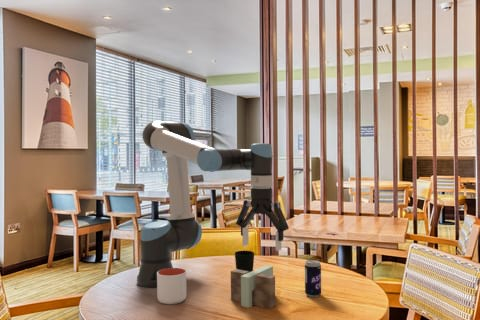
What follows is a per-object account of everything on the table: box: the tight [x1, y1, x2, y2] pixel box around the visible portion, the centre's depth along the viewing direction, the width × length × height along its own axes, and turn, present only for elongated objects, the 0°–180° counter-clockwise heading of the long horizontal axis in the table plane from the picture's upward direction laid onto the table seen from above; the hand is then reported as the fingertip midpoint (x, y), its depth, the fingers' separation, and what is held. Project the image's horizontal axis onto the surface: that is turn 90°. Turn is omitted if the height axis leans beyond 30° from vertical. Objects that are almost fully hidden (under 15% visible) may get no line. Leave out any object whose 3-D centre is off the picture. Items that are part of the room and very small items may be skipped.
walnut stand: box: [230, 268, 276, 310], centre depth 142 cm, size 16×3×10 cm, turn 55°
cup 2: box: [234, 250, 255, 272], centre depth 164 cm, size 8×8×12 cm
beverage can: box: [304, 259, 322, 298], centre depth 149 cm, size 6×6×12 cm
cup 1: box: [156, 267, 187, 305], centre depth 146 cm, size 10×10×10 cm
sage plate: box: [240, 264, 274, 308], centre depth 145 cm, size 16×3×10 cm, turn 145°
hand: (261, 247), depth 148 cm, fingers open, 13 cm apart
